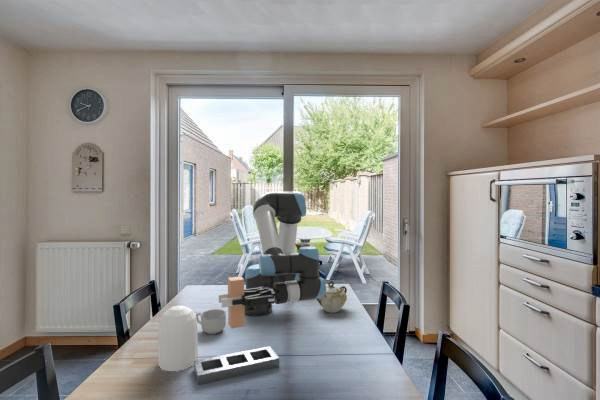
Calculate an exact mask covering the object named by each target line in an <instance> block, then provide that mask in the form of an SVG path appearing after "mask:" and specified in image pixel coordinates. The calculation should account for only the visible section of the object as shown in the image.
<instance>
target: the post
mask: <svg viewBox="0 0 600 400" xmlns="http://www.w3.org/2000/svg"><path fill="white" fill-rule="evenodd" d="M244 289H245V279H244V278H243V277H242V276H241V275H240V276H232V277H231V276H230V277H228V278H227V293H228V298H232V297H239V296H241V297H242V295H244ZM227 312H228V315H227V317H228V318H227V321H228V323H227V324H228V325H229V327H230V329H236V328H242V327H245V326H246V324H245V323H246V321H245V320H246V318H245V317H246V314H245V306H244V305H237V306H230V307H227Z"/></svg>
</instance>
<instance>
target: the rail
mask: <svg viewBox="0 0 600 400" xmlns="http://www.w3.org/2000/svg"><path fill="white" fill-rule="evenodd" d="M275 368H280V357H279V356H278V354H277V353H276V352H275V351H274V349H273V348H272V347H271V346H270V345H269V346H263V347H258V348H257V347H256V348H253V349H248V350H242V351H238V352H232V353H227V354H222V355H216V356H211V357H208V358H207V357H206V358H201V359H198V360H196V361H194V366H193V370H194V374H195V379H196V382H197V385H198V386H199V385H203V384H207V383H213V382H217V381H221V380H226V379H231V378H234V377H235V378H236V377H239V376H244V375H248V374H253V373H257V372H263V371H266V370H271V369H275Z"/></svg>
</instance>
